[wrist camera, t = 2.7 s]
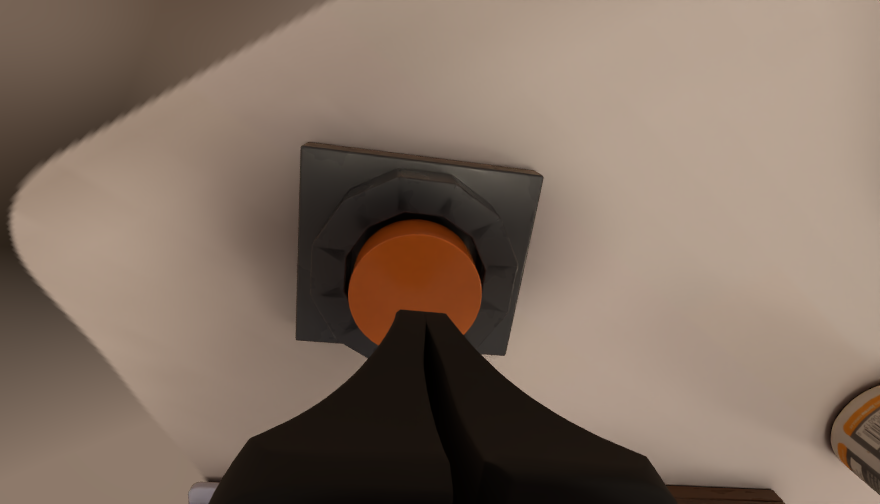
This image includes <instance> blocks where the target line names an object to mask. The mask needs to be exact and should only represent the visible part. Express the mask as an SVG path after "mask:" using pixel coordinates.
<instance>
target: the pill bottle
mask: <svg viewBox="0 0 880 504" xmlns="http://www.w3.org/2000/svg"><path fill="white" fill-rule="evenodd" d="M831 445H832V448H833V451H834V453H835V454H836V456H837V457H838V459H839V460H840V461H841V462H842V463H844V464H845V465H846V466H847V467H848V468H849V469H850V470H851V471H853V472H854V473H855V474H856V475H857V476H858V477H859V478H860V479H861V480H863V481H864V482H865V483H866V484H868V485H869V486H870V487H871V488H872V489H873V490H875V491H876V492H877V493H878V494H879V495H880V385H879V386H876V387H874V388H871V389H869V390H867V391H865V392H863V393H862V394H860V395H859V396H857V397H856V398H854V399H853V400H852V401H851V402H850V403H849V404H848V405H847V406H846V407H845V408H844V409H843V410H842V412H841V413H840V414H839V415H838V417H837V418H836V420H835V422H834V424H833V427H832V431H831Z"/></svg>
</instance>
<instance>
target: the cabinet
mask: <svg viewBox="0 0 880 504" xmlns="http://www.w3.org/2000/svg"><path fill="white" fill-rule="evenodd" d="M667 488H668V489H669V491H670V492H671V494H672V495H673V497H674V498H675V500H676V502H677V504H785V503H784V502H783V500H782V499H781V498H780V497H779V496H778V495H777V494H776V493H775V492H774V491H773V490H761V489H737V488H713V487H689V486H667Z"/></svg>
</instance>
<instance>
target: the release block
mask: <svg viewBox="0 0 880 504" xmlns="http://www.w3.org/2000/svg"><path fill="white" fill-rule="evenodd" d="M542 183H543V176H542V175H541V174H539V173H537V172H536V171H534V170H526V169H518V168H510V167H502V166H494V165H487V164H479V163H471V162H463V161H455V160H447V159H439V158H431V157H423V156H415V155H408V154H400V153H392V152H384V151H376V150H368V149H360V148H352V147H344V146H336V145H329V144H321V143H313V142H308V143H306V144H304V145H302V146H301V156H300V192H299V228H298V265H297V301H296V337H295V338H296V340H301V341H314V342H327V343H341V344H344V345H346V346H348V347H350V348H351V349H353V350H355V351H356V352H358V353H360V354H362V355H363V356H365V357H367V358H369V357H370V356H371V355H372V353H373V352H374V351H375V350H376V349H377V347H378V346H379V345H377V344H375V343H374V342H372V341H371V340H370V339H369V338H368V337H366V336H365V335H364V333H363V332H362V331H361V330H360V329H359V327H358V326H357V324H356V323H355V321H354V319H353V317H352V314H351V311H350V308H349V302H348V289H349V283H350V279H351V276H352V272H353V269H354V265H355V262H356V258H357V256H358V254H359V251H360V249H361V248H362V246H363V245H364V243H365V242H366V241H367V240H368V239H369V238H370V237H371V236H372V235H373V234H374V233H375V232H377V231H378V230H380V229H381V228H383V227H385V226H387V225H389V224H391V223H394V222H397V221H402V220H408V219H422V220H428V221H432V222H436V223H438V224H441V225H443V226H445V227H447V228H448V229H450V230H451V231H453V232H454V233H455V234H456V235H458V236H459V237H460V239H461V240H462V241H463V242H464V243H465V245H466V246H467V248H468V250H469V252H470V254H471V256H472V259H473V261H474V264H475V266H476V269H477V271H478V274H479V277H480V280H481V286H482V300H481V305H480V309H479V312H478V315H477V317H476V319H475V321H474V323H473V324H472V326H471V327H470V328H469V330H468V331H467V332H466V333H465V334H464V336H465V338H466V339H467V340H468V341H469V342H470V343H471V344H472V346H473V347H474V348H475V349H476V350H477V351H478V352H479V353H480V354H487V355H500V356H505V354H506V350H507V345H508V341H509V336H510V331H511V327H512V322H513V317H514V313H515V308H516V304H517V299H518V294H519V290H520V285H521V280H522V276H523V271H524V266H525V262H526V257H527V252H528V248H529V243H530V239H531V234H532V229H533V225H534V220H535V215H536V211H537V206H538V201H539V197H540V192H541V187H542Z"/></svg>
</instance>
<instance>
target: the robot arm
mask: <svg viewBox="0 0 880 504" xmlns="http://www.w3.org/2000/svg"><path fill="white" fill-rule="evenodd" d="M188 498H189V504H677V502H676V500H675V498H674V497H673V495H672V494H671V492H670V491H669V489H668V488H667V486H666V485H665V483H664V482H663V480H662V479H661V477H660V476H659V474H658V473H657V471H656V470H655V468H654V467H653V465H652V464H651V462H650V461H649V460H648V458H647V457H646V456H643V455H641V454H639V453H636V452H634V451H632V450H629V449H627V448H625V447H622V446H620V445H617V444H615V443H613V442H610V441H608V440H606V439H603V438H601V437H599V436H597V435H595V434H593V433H591V432H589V431H587V430H585V429H583V428H581V427H579V426H577V425H575V424H574V423H572V422H570V421H568V420H566V419H565V418H563V417H561V416H559V415H558V414H556V413H554V412H553V411H551V410H550V409H548V408H546V407H545V406H543V405H542V404H540V403H539V402H537V401H536V400H534V399H533V398H531V397H530V396H528V395H527V394H526V393H524V392H523V391H522V390H520V389H519V388H518V387H517V386H515V385H514V384H513V383H511V382H510V381H509V380H508V379H506V378H505V377H504V376H503V375H502V374H501V373H499V372H498V371H497V370H496V369H495V368H494V367H493V366H492V365H491V364H490V363H489V362H488V361H487V360H486V359H485V358H484V357H483V356H482V355H481V354H480V353H479V352H478V351H477V350H476V349H475V348H474V347H473V346H472V344H471V343H470V342H469V341H468V340H467V339H466V338H465V336H464V335H463V334H462V333H461V332H460V330H459V329H458V328H457V327H456V325H455V324H454V323H453V322H452V320H451V319H450V318H449V317H448V315H447V314H446V313H437V312H425V311H413V310H401V309H400V310H399V311H398V312H396V315H395V319H394V321H393V323H392V325H391V327H390V329H389V331H388V332H387V334H386V335H385V337H384V339H383V340H382V342H381V343H380V345H379V346H378V347H377V349H376V350H375V351H374V352H373V353H372V355H371V356H370V357H369V358H368V360H367V361H366V362H365V363H364V364H363V365H362V366H361V368H360V369H359V370H358V371H357V372H356V373H355V374H354V375H353V376H351V377H350V378H349V379H348V380H347V381H346V382H345V383H344V384H343V385H341V386H340V387H339V388H338V389H337V390H335V391H334V392H333V393H332V394H331V395H329V396H328V397H327V398H325V399H324V400H322V401H321V402H320V403H318V404H316V405H315V406H313V407H312V408H310V409H309V410H307V411H305V412H303V413H302V414H300V415H298V416H296V417H295V418H293V419H291V420H289V421H287V422H285V423H283V424H280V425H278V426H276V427H274V428H272V429H270V430H268V431H265V432H263V433H261V434H259V435H256V436H254V437H252V438H250V439H249V440H248V441H247V443H246V444H245V445H244V447H243V448H242V450H241V451H240V452H239V454H238V455H237V457H236V458H235V460H234V461H233V462H232V464H231V466H230V467H229V469H228V470H227V472H226V473H225V475H224V476H223V478H222V479H221V481H220V483H216V482H197V483H195V484H193V485H192V487H191V489H190V490H189V493H188Z"/></svg>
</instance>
